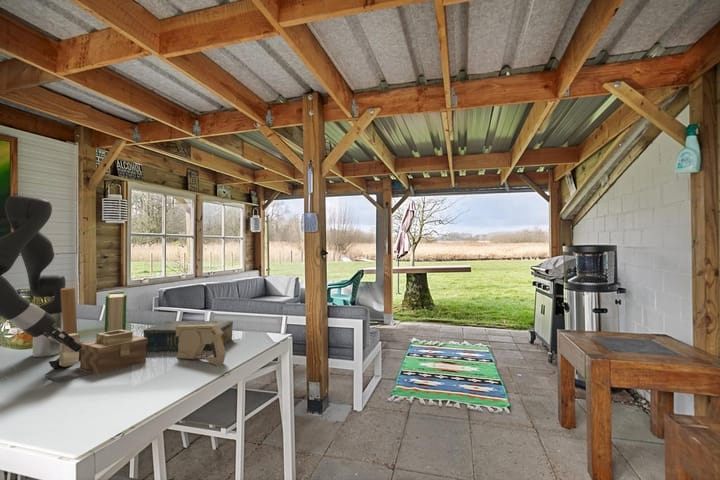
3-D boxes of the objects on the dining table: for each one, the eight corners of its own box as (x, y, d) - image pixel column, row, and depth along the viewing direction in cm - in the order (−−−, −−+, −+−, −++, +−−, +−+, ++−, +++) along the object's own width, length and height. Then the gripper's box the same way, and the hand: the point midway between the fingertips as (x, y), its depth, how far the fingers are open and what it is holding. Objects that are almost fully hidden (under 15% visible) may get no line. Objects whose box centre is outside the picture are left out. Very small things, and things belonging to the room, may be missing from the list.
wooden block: (59, 364, 117) (60, 335, 118) (73, 361, 121) (74, 333, 121) (64, 366, 115) (65, 336, 116) (78, 363, 119) (79, 334, 119)
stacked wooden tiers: (78, 367, 127) (80, 334, 127) (127, 355, 141) (128, 326, 142) (98, 374, 119) (99, 339, 120) (147, 361, 134) (148, 330, 134)
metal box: (166, 340, 167) (167, 320, 168) (233, 340, 169) (234, 319, 169) (140, 353, 146) (141, 329, 146) (217, 352, 147) (218, 329, 148)
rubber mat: (45, 377, 117) (46, 375, 117) (77, 369, 125) (77, 367, 125) (58, 382, 112) (58, 380, 112) (90, 374, 120) (90, 372, 120)
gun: (227, 363, 131) (225, 324, 132) (220, 366, 128) (218, 325, 129) (183, 361, 141) (181, 324, 142) (176, 363, 138) (174, 326, 139)
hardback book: (124, 350, 150) (126, 295, 151) (103, 352, 146) (105, 296, 147) (124, 341, 165) (126, 291, 166) (105, 343, 160) (107, 292, 161)
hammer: (66, 375, 125) (61, 296, 121) (49, 376, 123) (44, 296, 119) (90, 350, 144) (86, 281, 140) (75, 351, 142) (71, 281, 138)
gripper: (52, 311, 109) (95, 341, 119) (34, 308, 116) (76, 337, 126) (29, 331, 104) (76, 361, 114) (12, 327, 111) (58, 355, 121)
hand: (76, 348), depth 120 cm, fingers closed on wooden block, 4 cm apart
